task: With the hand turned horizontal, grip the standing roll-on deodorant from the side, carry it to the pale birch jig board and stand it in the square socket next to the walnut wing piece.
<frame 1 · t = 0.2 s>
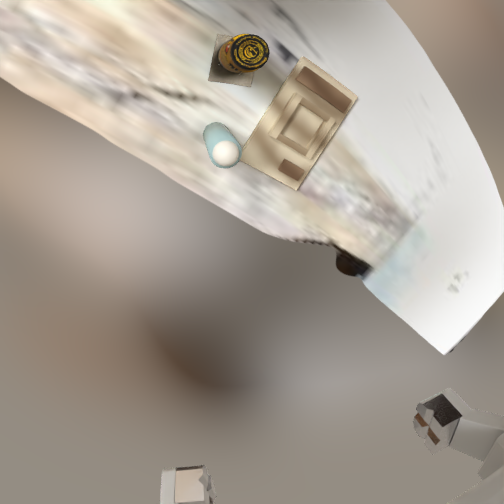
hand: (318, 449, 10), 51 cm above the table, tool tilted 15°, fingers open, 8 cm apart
condiment: (233, 60, 46), on the table
jig: (298, 124, 54), on the table
roll-on deodorant: (215, 134, 52), on the table
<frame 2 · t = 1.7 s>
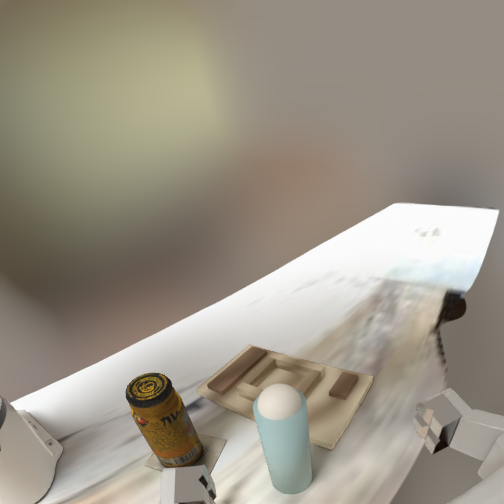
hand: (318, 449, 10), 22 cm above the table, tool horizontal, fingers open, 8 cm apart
condiment: (186, 455, 33), on the table
jig: (283, 392, 42), on the table
roll-on deodorant: (292, 478, 28), on the table
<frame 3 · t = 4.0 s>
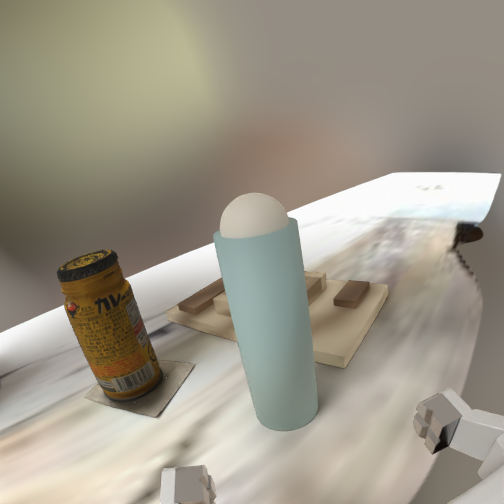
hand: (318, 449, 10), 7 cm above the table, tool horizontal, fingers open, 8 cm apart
condiment: (139, 385, 26), on the table
jig: (274, 310, 35), on the table
roll-on deodorant: (287, 408, 20), on the table
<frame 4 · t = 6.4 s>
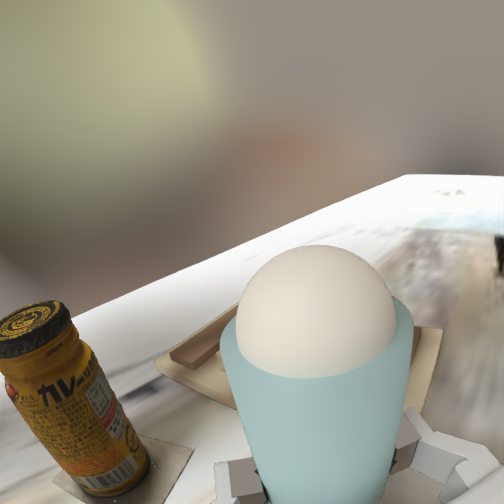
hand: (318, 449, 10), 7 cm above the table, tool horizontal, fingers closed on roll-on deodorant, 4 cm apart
condiment: (120, 473, 16), on the table
jig: (297, 364, 25), on the table
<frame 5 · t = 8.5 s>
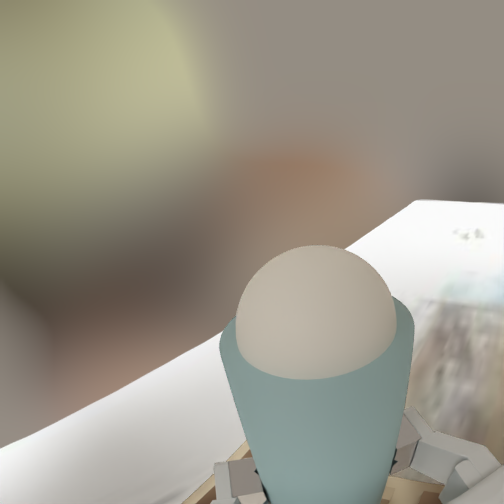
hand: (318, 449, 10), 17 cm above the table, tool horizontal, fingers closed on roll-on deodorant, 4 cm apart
when the fingers open (10 cm above the table, at t = 10.9 s): roll-on deodorant drops 1 cm, resting on jig.
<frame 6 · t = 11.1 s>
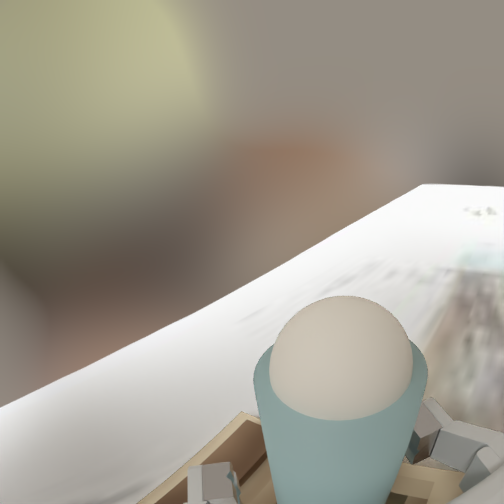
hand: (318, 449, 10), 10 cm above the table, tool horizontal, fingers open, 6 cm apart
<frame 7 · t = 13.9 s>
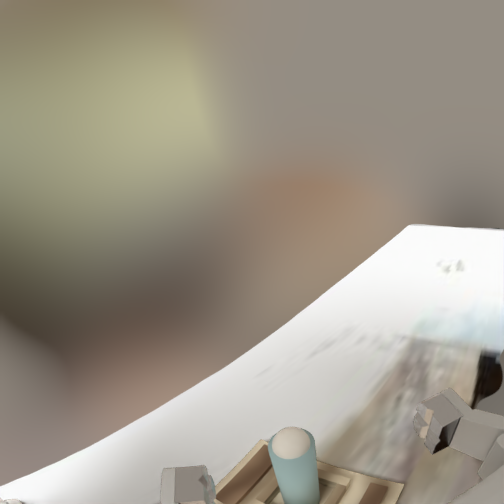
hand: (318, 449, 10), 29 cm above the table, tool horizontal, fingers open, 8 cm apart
jig: (302, 503, 30), on the table
roll-on deodorant: (302, 499, 29), point 1 cm above the table, touching jig
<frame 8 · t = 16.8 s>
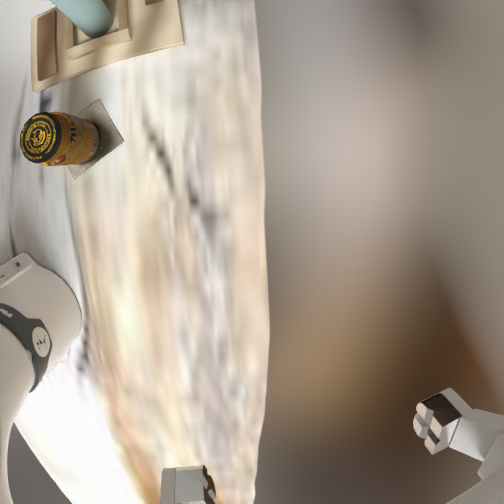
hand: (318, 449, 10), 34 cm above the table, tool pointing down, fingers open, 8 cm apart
condiment: (86, 139, 36), on the table
jig: (100, 27, 31), on the table
roll-on deodorant: (98, 24, 30), point 1 cm above the table, touching jig
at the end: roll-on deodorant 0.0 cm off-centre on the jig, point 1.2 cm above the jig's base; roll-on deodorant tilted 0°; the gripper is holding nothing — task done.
